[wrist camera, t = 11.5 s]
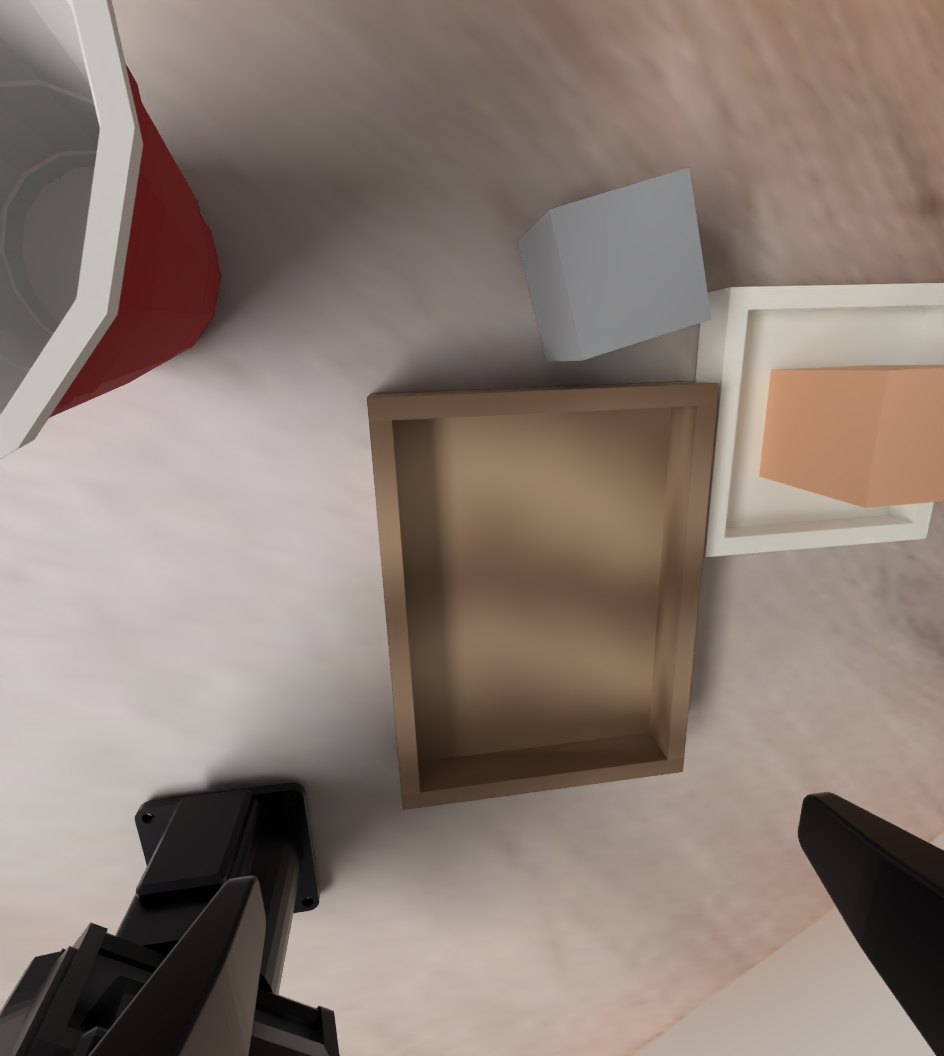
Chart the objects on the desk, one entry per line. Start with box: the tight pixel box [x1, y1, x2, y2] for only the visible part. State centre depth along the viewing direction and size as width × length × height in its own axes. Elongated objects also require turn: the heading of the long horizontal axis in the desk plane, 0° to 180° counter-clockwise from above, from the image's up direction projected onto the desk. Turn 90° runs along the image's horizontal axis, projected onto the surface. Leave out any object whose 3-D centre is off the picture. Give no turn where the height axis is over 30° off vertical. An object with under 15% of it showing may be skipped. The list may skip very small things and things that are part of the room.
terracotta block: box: [759, 365, 944, 508], centre depth 19 cm, size 4×4×5 cm
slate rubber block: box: [517, 167, 712, 362], centre depth 17 cm, size 4×4×4 cm
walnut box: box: [367, 381, 719, 810], centre depth 21 cm, size 15×11×2 cm
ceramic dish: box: [696, 283, 944, 557], centre depth 21 cm, size 9×9×2 cm
